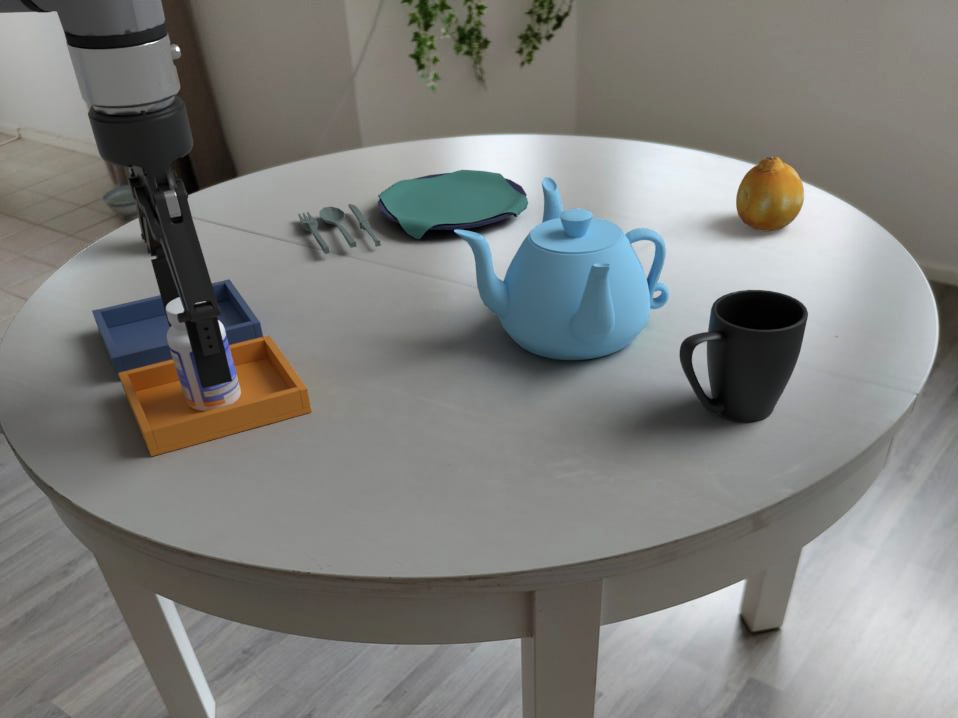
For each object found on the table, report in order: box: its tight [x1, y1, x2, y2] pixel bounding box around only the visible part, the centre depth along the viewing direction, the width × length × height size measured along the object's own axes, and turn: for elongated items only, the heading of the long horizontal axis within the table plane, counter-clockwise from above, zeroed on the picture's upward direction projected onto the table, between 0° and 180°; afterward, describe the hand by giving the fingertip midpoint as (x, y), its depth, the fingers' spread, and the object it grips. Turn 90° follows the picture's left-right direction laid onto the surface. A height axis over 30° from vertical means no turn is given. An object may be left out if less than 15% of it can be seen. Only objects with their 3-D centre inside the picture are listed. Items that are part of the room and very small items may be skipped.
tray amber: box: [118, 334, 312, 457], centre depth 92 cm, size 16×13×3 cm
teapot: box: [453, 176, 670, 361], centre depth 96 cm, size 17×19×12 cm
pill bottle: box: [166, 297, 241, 411], centre depth 89 cm, size 5×5×10 cm
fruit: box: [735, 156, 805, 232], centre depth 116 cm, size 8×8×8 cm
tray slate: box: [91, 278, 264, 382], centre depth 102 cm, size 16×13×3 cm
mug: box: [678, 289, 809, 423], centre depth 84 cm, size 8×12×10 cm
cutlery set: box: [297, 169, 529, 255], centre depth 124 cm, size 20×30×2 cm, turn 110°
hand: (199, 352), depth 89 cm, fingers open, 13 cm apart
